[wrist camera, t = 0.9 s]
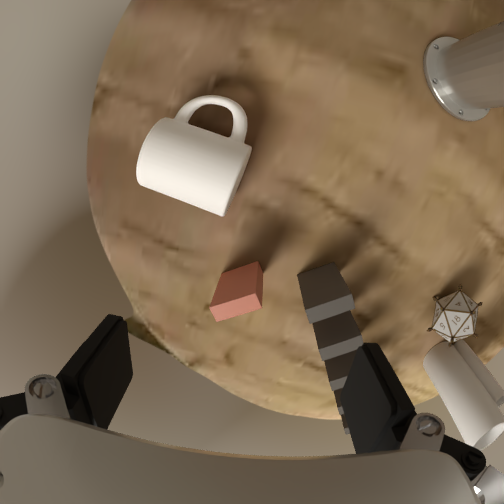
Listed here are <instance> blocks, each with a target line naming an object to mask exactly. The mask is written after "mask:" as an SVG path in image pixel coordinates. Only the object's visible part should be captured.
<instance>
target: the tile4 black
mask: <svg viewBox="0 0 504 504" xmlns="http://www.w3.org/2000/svg"><path fill="white" fill-rule="evenodd" d="M356 352H357V350H354V351H351V352H348V353H345V354H342V355H339V356H336V357H333V358H330V359H327V360H324V361H325V366H326V370H327V374H328V378H329V382H330V386H331V389H332V391H334V390H337V389H340V388H343V387H344V384H345V381H346V379H347V376H348V374H349V371H350V368H351V366H352V363H353V360H354V357H355V355H356Z"/></svg>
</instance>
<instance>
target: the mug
mask: <svg viewBox="0 0 504 504" xmlns="http://www.w3.org/2000/svg"><path fill="white" fill-rule="evenodd" d="M206 104H216V105H221V106H224V107H226V108H228V109H229V110H230V111H231V112H232V115H233V129H232V133H231V136H230V137H225V136H222V135H219V134H216V133H214V132H211V131H208V130H205V129H202V128H199V127H196V126H193V125H190V124H188V121H189V119H190V117H191V116H192V114H193V113H194V112H195V111H196V110H197V109H198V108H199V107H201V106H203V105H206ZM246 133H247V116H246V113H245V111H244V110H243V108H242V107H241V106H240V105H239V104H238V103H237V102H235V101H233V100H231V99H229V98H226V97H223V96H217V95H207V96H201V97H197V98H195V99H192V100H191V101H189V102H187V103H186V104H185V105H184V106H183V107H182V108H181V109H180V110H179V112H178V113H177V115H176V117H175V118H174V119H171V118H162V119H161V120H159V121H158V122H157V123H156V124H155V125H154V126H153V127H152V129H151V130H150V132H149V133H148V135H147V137H146V139H145V141H144V143H143V145H142V148H141V151H140V154H139V157H138V162H137V169H136V175H137V180H138V183H139V184H140V185H141V186H144V187H147V188H149V189H152V190H155V191H157V192H160V193H163V194H165V195H168V196H171V197H173V198H176V199H178V200H181V201H184V202H186V203H189V204H191V205H194V206H197V207H199V208H202V209H204V210H207V211H209V212H212V213H215V214H217V215H220V216H225V214H226V213H227V211H228V209H229V207H230V205H231V202H232V200H233V198H234V195H235V193H236V191H237V188H238V186H239V183H240V181H241V178H242V176H243V173H244V171H245V168H246V166H247V163H248V160H249V157H250V154H251V151H252V147H251V146H249V145H246V144H245V143H244V140H245V137H246Z"/></svg>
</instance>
